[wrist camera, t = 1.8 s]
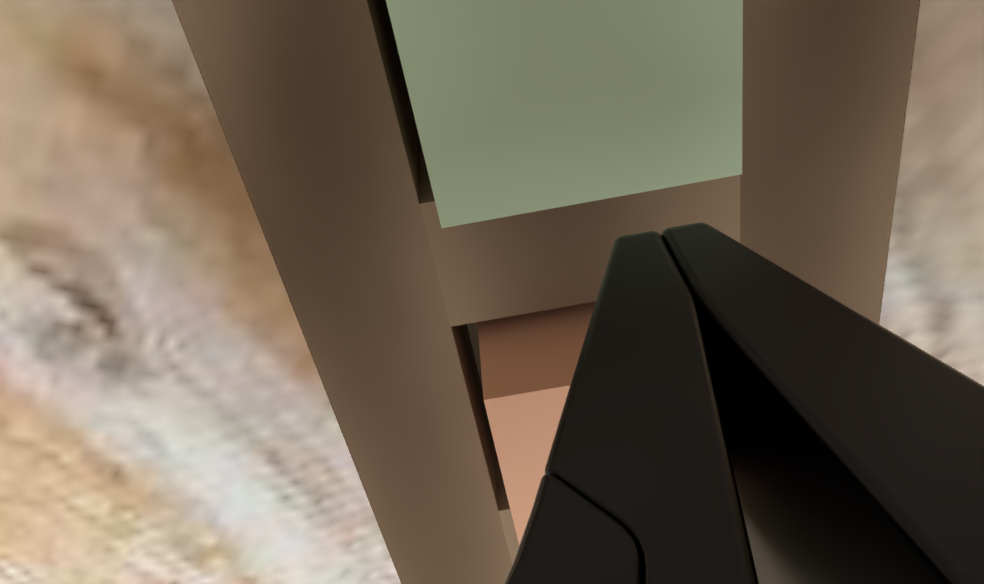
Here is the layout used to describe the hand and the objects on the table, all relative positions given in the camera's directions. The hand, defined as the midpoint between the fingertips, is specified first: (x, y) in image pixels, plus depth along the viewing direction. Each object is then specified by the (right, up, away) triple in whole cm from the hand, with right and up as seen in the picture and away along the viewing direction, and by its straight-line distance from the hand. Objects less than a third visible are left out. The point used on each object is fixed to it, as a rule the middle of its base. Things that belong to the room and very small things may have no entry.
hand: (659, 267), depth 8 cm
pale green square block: (-1, +5, +7) cm, 8 cm away
